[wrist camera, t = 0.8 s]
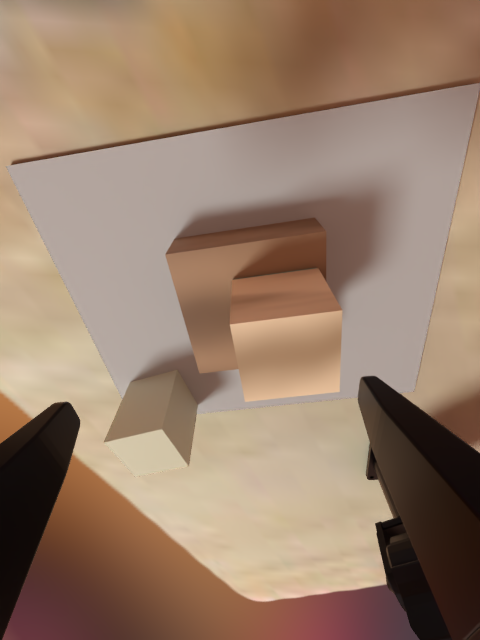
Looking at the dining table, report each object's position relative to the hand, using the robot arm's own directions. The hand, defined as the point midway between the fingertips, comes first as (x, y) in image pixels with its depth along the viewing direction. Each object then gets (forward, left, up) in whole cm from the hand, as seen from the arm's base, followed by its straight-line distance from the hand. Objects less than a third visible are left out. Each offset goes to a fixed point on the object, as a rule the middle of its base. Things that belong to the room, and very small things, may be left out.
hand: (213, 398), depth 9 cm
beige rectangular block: (-12, +8, -13) cm, 19 cm away
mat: (-4, -1, -13) cm, 14 cm away
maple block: (-3, -3, -10) cm, 11 cm away
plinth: (-3, -1, -13) cm, 14 cm away
